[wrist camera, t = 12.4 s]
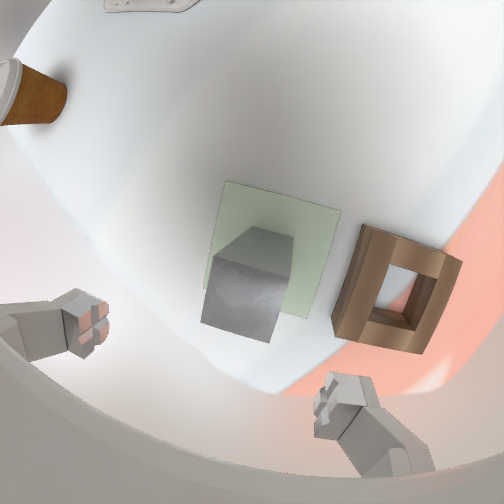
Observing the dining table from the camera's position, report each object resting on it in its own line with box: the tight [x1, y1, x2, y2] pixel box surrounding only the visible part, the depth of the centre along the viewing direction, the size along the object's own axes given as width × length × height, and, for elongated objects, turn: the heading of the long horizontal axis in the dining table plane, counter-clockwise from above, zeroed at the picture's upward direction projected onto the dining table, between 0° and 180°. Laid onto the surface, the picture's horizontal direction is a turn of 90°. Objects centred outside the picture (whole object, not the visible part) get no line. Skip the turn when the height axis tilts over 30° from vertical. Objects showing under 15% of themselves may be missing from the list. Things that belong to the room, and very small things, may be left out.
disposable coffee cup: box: [0, 58, 67, 126], centre depth 21 cm, size 10×10×12 cm
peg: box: [201, 226, 294, 343], centre depth 20 cm, size 4×4×12 cm
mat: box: [203, 181, 341, 319], centre depth 26 cm, size 11×11×1 cm
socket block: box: [331, 224, 463, 355], centre depth 23 cm, size 10×10×4 cm
